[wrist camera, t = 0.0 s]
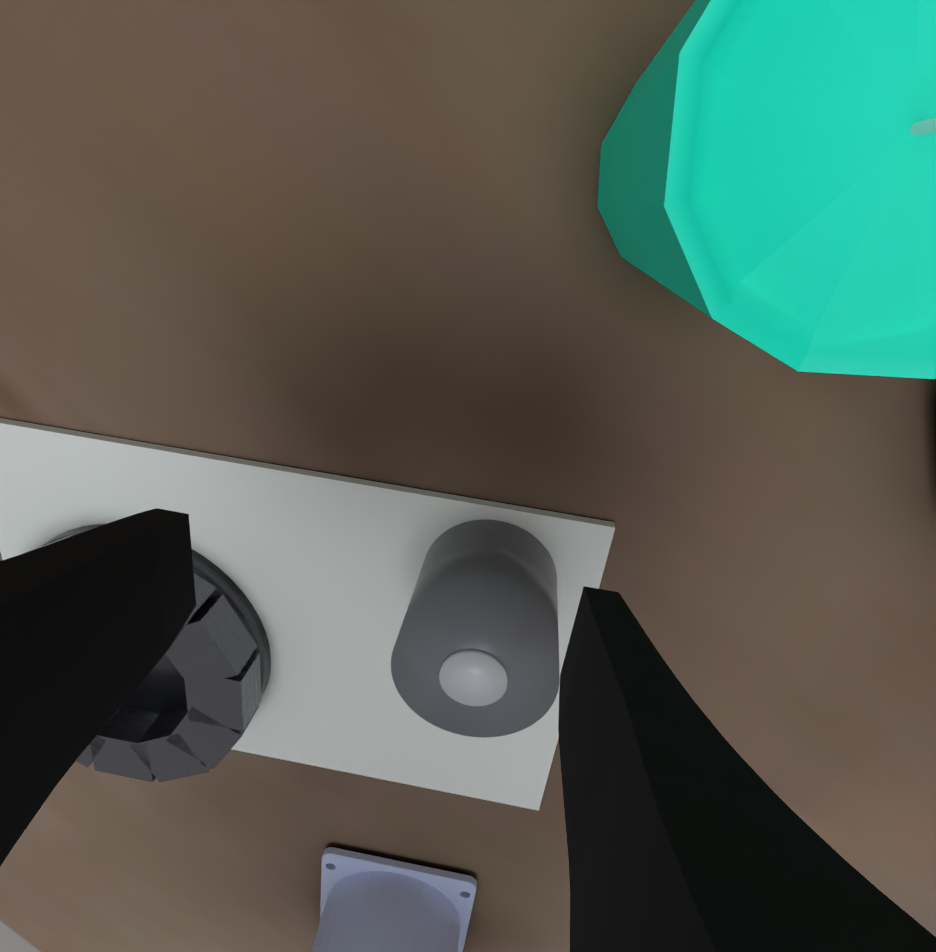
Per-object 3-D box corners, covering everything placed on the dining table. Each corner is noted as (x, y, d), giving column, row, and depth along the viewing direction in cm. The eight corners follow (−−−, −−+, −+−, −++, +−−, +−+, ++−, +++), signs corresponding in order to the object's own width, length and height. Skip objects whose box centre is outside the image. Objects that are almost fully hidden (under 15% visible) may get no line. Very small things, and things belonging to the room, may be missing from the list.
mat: (538, 802, 27) (538, 810, 27) (48, 704, 28) (41, 711, 28) (614, 522, 21) (615, 527, 20) (-25, 413, 22) (-35, 416, 22)
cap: (543, 642, 23) (542, 756, 18) (417, 619, 23) (384, 725, 18) (569, 532, 21) (575, 628, 16) (429, 508, 21) (395, 596, 16)
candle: (550, 177, 16) (556, 119, 6) (734, -24, 14) (1334, -768, 3) (686, 330, 18) (906, 526, 7) (875, 168, 15) (1646, 78, 5)
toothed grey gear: (273, 750, 27) (247, 801, 25) (49, 705, 28) (3, 751, 25) (268, 550, 22) (235, 590, 20) (-1, 502, 23) (-63, 535, 21)
